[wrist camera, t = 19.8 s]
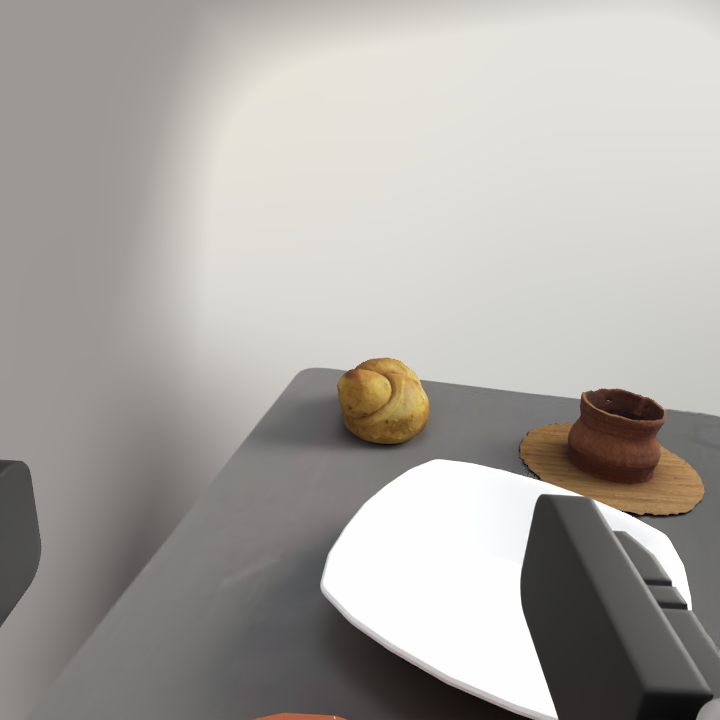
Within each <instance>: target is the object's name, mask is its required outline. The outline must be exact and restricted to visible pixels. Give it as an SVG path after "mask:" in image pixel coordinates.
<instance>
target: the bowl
mask: <svg viewBox="0 0 720 720" xmlns="http://www.w3.org/2000/svg"><path fill="white" fill-rule="evenodd" d="M541 494H553V495H569V496H582V495H579V494H576V493H573V492H571V491H568V490H565V489H562V488H560V487H557V486H554V485H551V484H549V483H545V482H542V481H538V480H535V479H531V478H528V477H524V476H521V475H517V474H514V473H510V472H507V471H503V470H498V469H494V468H490V467H485V466H481V465H476V464H472V463H464V462H456V461H448V460H439V459H436V460H432V461H430V462H427V463H425V464H422V465H420V466H417V467H415V468H412V469H410V470H408V471H407V472H405V473H404V474H402V475H401V476H399V477H398V478H396V479H395V480H393V481H392V482H390V483H389V484H388V485H386V486H385V487H384V488H382V489H381V490H380V491H379V492H378V493H376V494H375V495H374V496H373V497H372V498H370V499H369V500H368V501H367V502H366V503H364V504H363V506H362V507H361V508H360V509H359V511H358V512H357V513H356V514H355V515H354V517H353V518H352V519H351V520H350V522H349V523H348V524H347V525H346V527H345V528H344V530H343V531H342V533H341V534H340V536H339V538H338V539H337V541H336V542H335V544H334V546H333V547H332V549H331V550H330V552H329V553H328V556H327V560H326V564H325V568H324V571H323V575H322V579H321V591H322V593H323V595H324V596H325V597H326V598H327V599H328V600H329V601H330V602H331V603H332V604H333V605H334V606H335V607H336V608H337V609H338V611H339V612H340V613H341V614H342V615H343V616H344V617H345V618H346V619H347V620H348V621H349V622H350V623H351V624H352V625H354V626H355V627H357V628H358V629H360V630H361V631H362V632H364V633H365V634H367V635H368V636H369V637H371V638H372V639H374V640H375V641H376V642H378V643H379V644H381V645H382V646H384V647H385V648H386V649H388V650H389V651H391V652H393V653H394V654H396V655H398V656H400V657H401V658H403V659H405V660H407V661H408V662H410V663H412V664H413V665H415V666H417V667H419V668H420V669H422V670H424V671H426V672H427V673H429V674H431V675H432V676H434V677H436V678H438V679H439V680H441V681H443V682H445V683H446V684H448V685H451V686H453V687H455V688H458V689H460V690H462V691H465V692H467V693H469V694H472V695H474V696H476V697H479V698H481V699H483V700H486V701H488V702H490V703H493V704H495V705H497V706H500V707H502V708H504V709H507V710H509V711H511V712H514V713H516V714H519V715H522V716H525V717H528V718H531V719H534V720H559V719H558V716H557V713H556V710H555V707H554V704H553V701H552V698H551V695H550V692H549V689H548V686H547V683H546V680H545V677H544V674H543V671H542V668H541V665H540V662H539V659H538V656H537V653H536V650H535V647H534V644H533V641H532V638H531V635H530V632H529V629H528V626H527V623H526V620H525V617H524V614H523V610H522V605H521V597H520V576H521V569H522V565H523V560H524V555H525V550H526V546H527V541H528V536H529V531H530V527H531V522H532V517H533V512H534V508H535V504H536V501H537V499H538V497H539V496H540V495H541ZM594 502H595V503H596V505H597V506H598V508H599V509H600V511H601V513H602V514H603V516H604V517H605V519H606V521H607V522H608V524H609V526H610V527H611V529H612V530H613V531H626V532H627V533H628V534H629V535H630V536H632V537H633V538H634V539H635V540H637V541H638V542H639V543H640V544H642V545H643V546H644V547H645V548H646V549H648V550H649V551H650V552H651V553H653V554H654V555H655V557H656V558H657V560H658V561H659V563H660V564H661V566H662V567H663V569H664V570H665V572H666V573H667V575H668V576H669V577H670V579H671V580H672V586H673V587H676V588H677V589H678V591H679V592H680V594H681V595H682V597H683V598H684V600H685V601H686V603H687V604H688V605H687V607H688V610H692V608H691V597H690V592H689V587H688V583H687V578H686V574H685V569H684V565H683V563H682V562H681V560H680V558H679V556H678V554H677V553H676V551H675V549H674V547H673V545H672V544H671V542H670V540H669V539H668V537H667V536H666V535H665V534H663V533H661V532H660V531H658V530H656V529H654V528H652V527H650V526H649V525H647V524H645V523H643V522H641V521H639V520H637V519H636V518H634V517H632V516H630V515H628V514H626V513H624V512H621V511H619V510H616V509H614V508H612V507H609V506H607V505H605V504H602V503H600V502H597V501H595V500H594Z"/></svg>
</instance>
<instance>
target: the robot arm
mask: <svg viewBox="0 0 720 720" xmlns="http://www.w3.org/2000/svg"><path fill="white" fill-rule="evenodd" d="M40 555H41V539H40V534H39V526H38V520H37V513H36V506H35V499H34V494H33V486H32V479H31V475H30V470H29V468H28V466H27V465H26V464H25V463H24V462H22V461H12V460H0V627H1V625H2V624H3V622H4V621H5V620H6V618H7V617H8V615H9V614H10V613H11V611H12V610H13V608H14V607H15V606H16V604H17V603H18V601H19V600H20V599H21V597H22V596H23V594H24V593H25V591H26V590H27V589H28V587H29V586H30V584H31V583H32V581H33V579H34V577H35V574H36V572H37V569H38V565H39V561H40ZM520 597H521V605H522V610H523V614H524V617H525V620H526V623H527V626H528V629H529V632H530V635H531V638H532V641H533V644H534V647H535V650H536V653H537V656H538V659H539V662H540V665H541V668H542V671H543V674H544V677H545V680H546V683H547V686H548V689H549V692H550V695H551V698H552V701H553V704H554V707H555V710H556V713H557V716H558V719H559V720H720V651H719V650H718V648H717V647H716V645H715V644H714V642H713V641H712V639H711V638H710V636H709V635H708V633H707V632H706V630H705V629H704V628H703V626H702V625H701V623H700V622H699V620H698V619H697V617H696V616H695V614H694V613H693V611H692V610H688V607H687V605H688V604H687V603H686V601H685V600H684V598H683V597H682V595H681V594H680V592H679V591H678V589H677V588H676V587H673V586H672V580H671V579H670V577H669V576H668V575H667V573H666V572H665V570H664V569H663V567H662V566H661V564H660V563H659V561H658V560H657V558H656V557H655V555H654V554H653V553H651V552H650V551H649V550H648V549H646V548H645V547H644V546H643V545H642V544H640V543H639V542H638V541H637V540H635V539H634V538H633V537H632V536H630V535H629V534H628V533H627V532H626V531H613V530H612V529H611V527H610V526H609V524H608V522H607V521H606V519H605V517H604V516H603V514H602V513H601V511H600V509H599V508H598V506H597V505H596V503H595V502H594V500H593V499H592V498H590V497H586V496H569V495H553V494H541V495H540V496H539V497H538V499H537V501H536V504H535V508H534V512H533V517H532V522H531V527H530V531H529V536H528V541H527V546H526V550H525V555H524V560H523V565H522V569H521V576H520Z"/></svg>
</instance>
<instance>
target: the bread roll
mask: <svg viewBox="0 0 720 720" xmlns="http://www.w3.org/2000/svg"><path fill="white" fill-rule="evenodd" d="M337 388H338V397H339V402H340V406H341V409H342V416H343V420H344V423H345V425H346V426H347V428H348V429H349V431H350V432H351V433H352V434H354V435H356V436H358V437H359V438H361V439H362V440H366V441H369V442H375V443H380V444H384V443H387V444H394V443H402V442H405V441H408V440H410V439H412V438H413V437H415V436H416V435H417V434H418V433H420V432H421V431H422V430H423V429H424V427H425V426H426V424H427V421H428V419H429V410H430V407H429V402H428V398H427V396H426V393H425V392H424V390H423V388H422V386H421V383H420V380H419V378H418V377H417V375H416V373H415V372H413V371H412V370H411V369H410V368H408V367H407V366H406V365H405V364H403V363H402V362H401V361H399V360H395V359H390V358H379V359H371V360H367V361H365V362H363V363H361V364H360V365H358V366H357V367H356V368H355V369H352V370H349V371H348V372H346V373H345V374H344V375H343V376H342V377H341V378H340V380H339V382H338V385H337Z"/></svg>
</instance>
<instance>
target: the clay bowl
mask: <svg viewBox="0 0 720 720" xmlns="http://www.w3.org/2000/svg"><path fill="white" fill-rule="evenodd" d="M253 720H347V719H344V718H342V717H339V716H336V717H335V716H334V715H315V714H297V713H283V714H282V713H279V714H275V715H271V716H266V717H262V718H258V719H253Z"/></svg>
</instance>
